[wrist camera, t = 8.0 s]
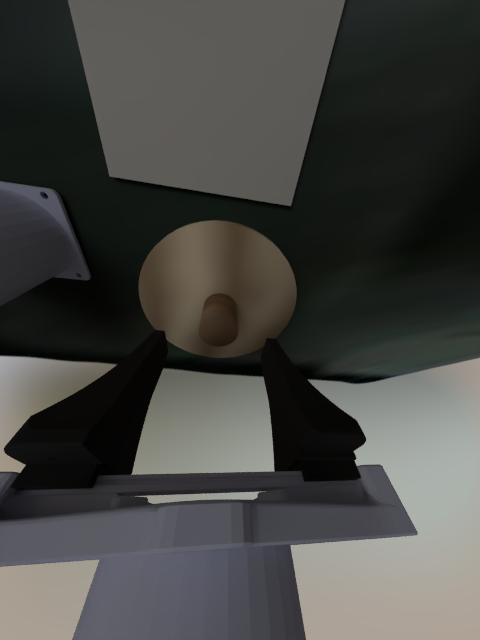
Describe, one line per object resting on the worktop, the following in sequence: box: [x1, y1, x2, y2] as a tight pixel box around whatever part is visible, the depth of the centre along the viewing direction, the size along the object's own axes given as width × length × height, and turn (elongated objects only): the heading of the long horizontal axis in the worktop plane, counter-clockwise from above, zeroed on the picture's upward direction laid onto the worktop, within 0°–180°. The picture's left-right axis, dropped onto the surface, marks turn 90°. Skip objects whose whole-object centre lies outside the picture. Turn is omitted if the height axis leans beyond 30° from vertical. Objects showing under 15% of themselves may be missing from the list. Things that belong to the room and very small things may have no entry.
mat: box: [68, 0, 345, 206], centre depth 11 cm, size 15×15×1 cm
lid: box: [139, 220, 297, 358], centre depth 15 cm, size 14×14×4 cm
